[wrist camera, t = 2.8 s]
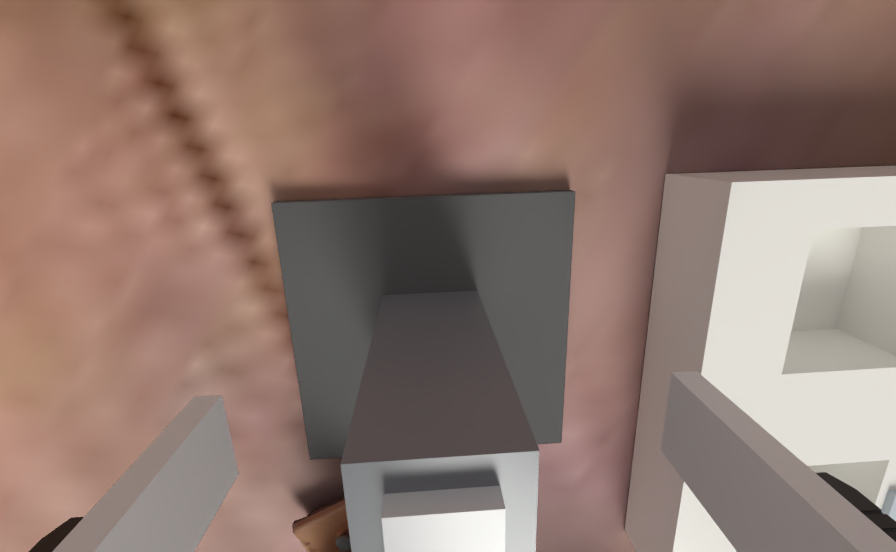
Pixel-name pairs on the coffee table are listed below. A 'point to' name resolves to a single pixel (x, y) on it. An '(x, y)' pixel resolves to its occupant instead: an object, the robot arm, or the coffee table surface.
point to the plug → (439, 435)
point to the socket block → (772, 331)
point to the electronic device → (325, 529)
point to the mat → (425, 290)
